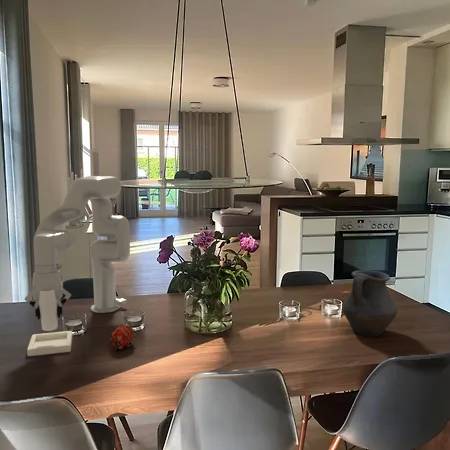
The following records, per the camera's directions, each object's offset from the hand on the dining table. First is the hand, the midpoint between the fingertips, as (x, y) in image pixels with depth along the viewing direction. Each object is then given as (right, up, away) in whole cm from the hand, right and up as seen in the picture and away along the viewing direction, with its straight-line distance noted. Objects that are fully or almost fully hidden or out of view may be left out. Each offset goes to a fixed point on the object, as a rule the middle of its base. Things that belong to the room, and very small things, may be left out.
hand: (49, 316), depth 164 cm
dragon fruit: (+26, -11, +1) cm, 29 cm away
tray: (0, -11, +2) cm, 11 cm away
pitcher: (+119, -9, +15) cm, 120 cm away
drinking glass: (0, -5, +1) cm, 5 cm away
